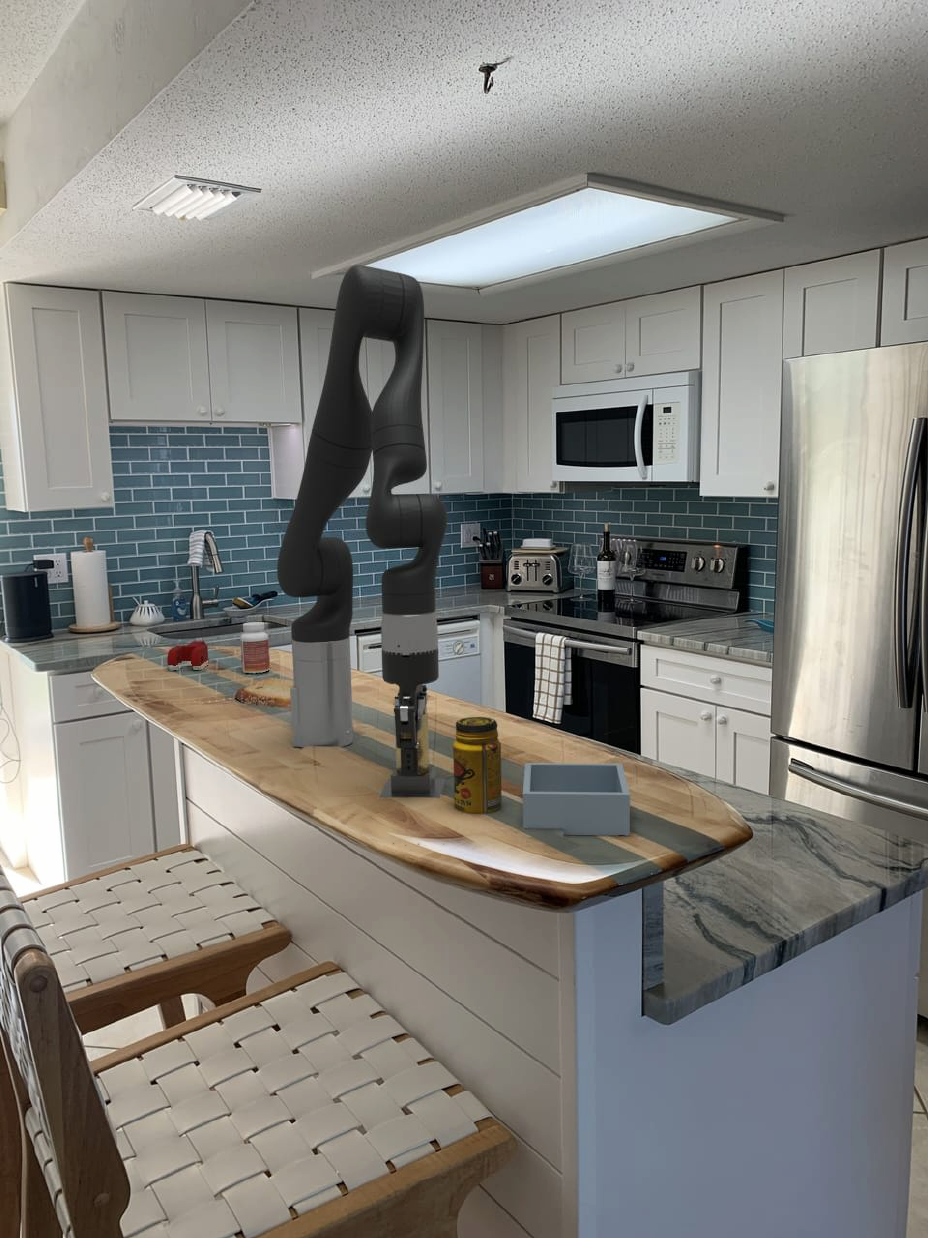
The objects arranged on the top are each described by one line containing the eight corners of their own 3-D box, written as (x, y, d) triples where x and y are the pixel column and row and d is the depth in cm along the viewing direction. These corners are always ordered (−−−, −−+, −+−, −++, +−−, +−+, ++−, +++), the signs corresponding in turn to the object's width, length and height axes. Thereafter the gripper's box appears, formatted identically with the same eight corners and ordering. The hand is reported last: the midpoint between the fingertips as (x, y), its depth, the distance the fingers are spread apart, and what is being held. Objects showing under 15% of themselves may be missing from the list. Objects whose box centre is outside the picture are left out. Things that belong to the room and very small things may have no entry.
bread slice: (343, 705, 186) (342, 686, 186) (248, 715, 179) (247, 695, 179) (318, 687, 203) (318, 669, 202) (231, 696, 196) (230, 678, 195)
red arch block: (199, 672, 220) (198, 650, 219) (168, 673, 220) (166, 651, 219) (216, 659, 236) (215, 639, 235) (187, 660, 235) (185, 639, 235)
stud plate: (379, 802, 128) (379, 796, 128) (389, 783, 136) (389, 778, 136) (439, 803, 128) (439, 797, 128) (445, 784, 136) (445, 778, 136)
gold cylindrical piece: (391, 793, 130) (389, 720, 128) (397, 781, 135) (395, 710, 133) (430, 793, 129) (428, 720, 128) (434, 781, 134) (433, 710, 133)
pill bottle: (275, 671, 218) (273, 622, 216) (251, 676, 214) (249, 626, 212) (260, 668, 222) (258, 620, 221) (236, 672, 218) (234, 623, 217)
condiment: (440, 813, 124) (438, 722, 122) (482, 796, 130) (480, 709, 129) (484, 826, 119) (483, 731, 118) (525, 807, 126) (525, 717, 124)
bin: (523, 834, 116) (522, 793, 115) (525, 799, 129) (525, 763, 128) (629, 835, 115) (630, 795, 114) (621, 800, 127) (622, 763, 127)
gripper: (390, 636, 137) (393, 754, 139) (372, 655, 122) (376, 785, 125) (443, 636, 136) (446, 754, 138) (431, 655, 122) (434, 786, 124)
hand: (412, 768), depth 132 cm, fingers open, 5 cm apart
